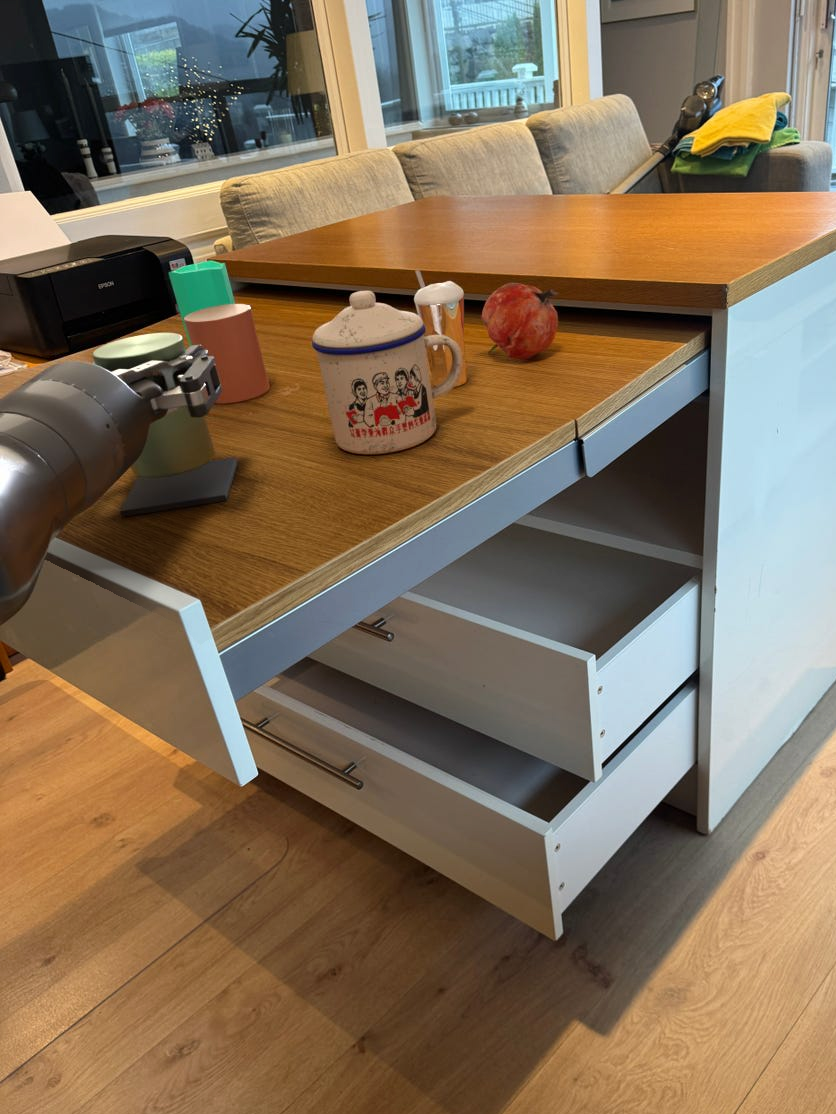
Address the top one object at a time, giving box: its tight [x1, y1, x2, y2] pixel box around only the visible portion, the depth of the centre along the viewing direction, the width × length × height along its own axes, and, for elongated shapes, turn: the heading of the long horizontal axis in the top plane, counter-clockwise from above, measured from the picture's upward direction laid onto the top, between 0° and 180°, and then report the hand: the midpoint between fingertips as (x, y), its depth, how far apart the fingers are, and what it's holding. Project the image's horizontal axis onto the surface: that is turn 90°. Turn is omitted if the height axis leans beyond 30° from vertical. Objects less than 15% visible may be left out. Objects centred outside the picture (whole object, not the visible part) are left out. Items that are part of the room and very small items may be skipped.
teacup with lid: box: [311, 290, 462, 455], centre depth 73 cm, size 12×9×12 cm
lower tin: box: [184, 303, 271, 405], centre depth 89 cm, size 6×6×8 cm
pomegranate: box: [481, 282, 559, 360], centre depth 89 cm, size 7×7×10 cm
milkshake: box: [413, 269, 467, 388], centre depth 84 cm, size 4×5×10 cm
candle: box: [168, 251, 236, 347], centre depth 98 cm, size 6×6×12 cm
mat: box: [119, 456, 239, 518], centre depth 71 cm, size 8×8×1 cm
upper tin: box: [91, 332, 216, 477], centre depth 67 cm, size 6×6×9 cm
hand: (156, 363), depth 68 cm, fingers closed on upper tin, 6 cm apart
